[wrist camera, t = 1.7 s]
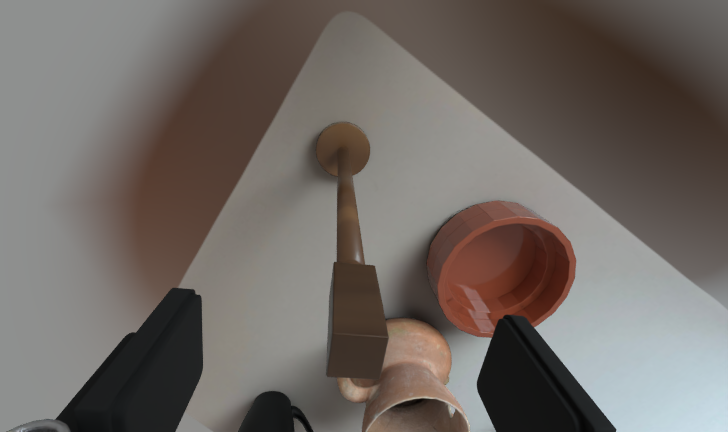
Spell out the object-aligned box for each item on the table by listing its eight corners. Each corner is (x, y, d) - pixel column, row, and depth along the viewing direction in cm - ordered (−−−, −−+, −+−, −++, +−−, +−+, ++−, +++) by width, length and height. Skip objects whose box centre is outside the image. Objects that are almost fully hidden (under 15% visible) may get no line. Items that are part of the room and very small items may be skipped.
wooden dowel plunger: (319, 118, 38) (251, 254, 8) (372, 125, 39) (486, 276, 9) (314, 170, 40) (245, 428, 10) (364, 176, 41) (435, 435, 11)
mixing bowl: (441, 192, 42) (457, 209, 37) (564, 207, 44) (597, 225, 39) (414, 303, 48) (424, 333, 42) (524, 312, 50) (547, 342, 44)
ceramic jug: (469, 332, 51) (516, 421, 37) (417, 397, 55) (442, 497, 42) (364, 285, 46) (374, 366, 33) (316, 360, 51) (308, 458, 37)
